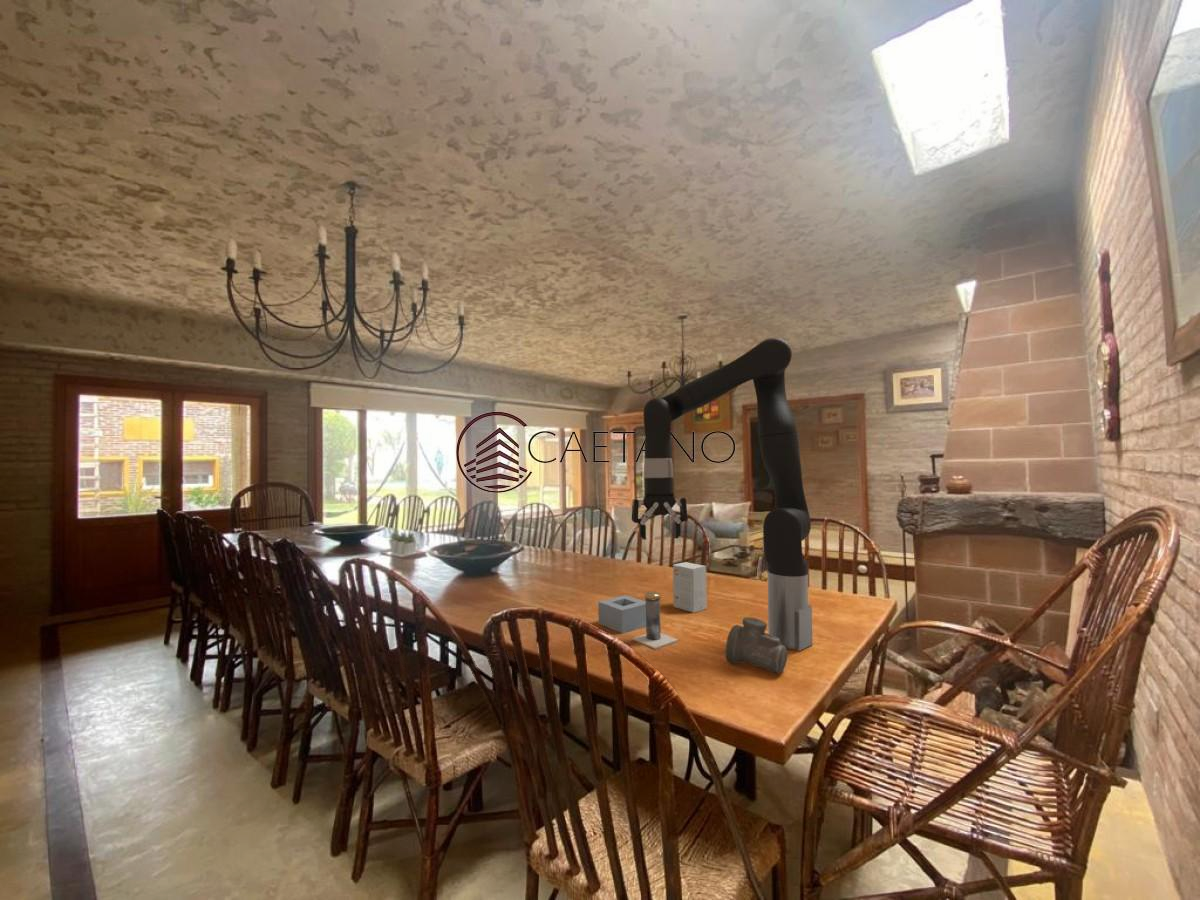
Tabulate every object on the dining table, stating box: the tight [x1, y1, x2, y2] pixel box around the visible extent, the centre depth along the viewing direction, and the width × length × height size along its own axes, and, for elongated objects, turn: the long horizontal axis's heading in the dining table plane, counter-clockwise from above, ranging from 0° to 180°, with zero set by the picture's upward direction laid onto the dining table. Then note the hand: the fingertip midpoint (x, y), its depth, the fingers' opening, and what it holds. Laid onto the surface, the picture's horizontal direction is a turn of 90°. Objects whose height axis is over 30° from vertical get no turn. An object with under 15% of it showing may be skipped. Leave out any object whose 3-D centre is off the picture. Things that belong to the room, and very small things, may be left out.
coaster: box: [632, 633, 679, 650], centre depth 121 cm, size 8×8×1 cm
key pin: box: [643, 591, 662, 640], centre depth 122 cm, size 4×4×11 cm
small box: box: [672, 561, 708, 614], centre depth 148 cm, size 8×6×13 cm
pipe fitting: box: [724, 616, 788, 675], centre depth 106 cm, size 12×8×10 cm
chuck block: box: [597, 595, 646, 634], centre depth 134 cm, size 10×10×6 cm
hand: (659, 538), depth 126 cm, fingers open, 8 cm apart
